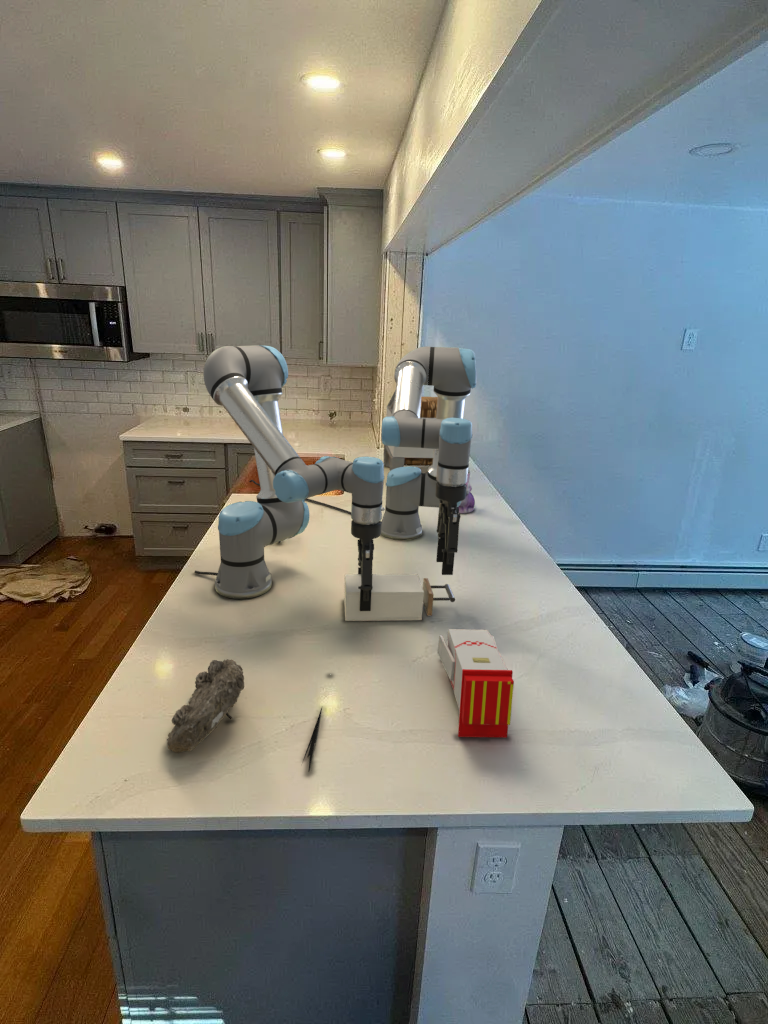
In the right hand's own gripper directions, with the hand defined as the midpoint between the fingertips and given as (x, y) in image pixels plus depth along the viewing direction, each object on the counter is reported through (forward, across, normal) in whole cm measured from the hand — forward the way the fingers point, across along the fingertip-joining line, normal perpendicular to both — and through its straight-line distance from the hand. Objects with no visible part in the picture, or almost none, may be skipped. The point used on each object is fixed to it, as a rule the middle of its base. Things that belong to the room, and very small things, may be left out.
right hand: (444, 567), depth 146 cm
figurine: (+12, +79, -24) cm, 83 cm away
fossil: (+12, -40, +52) cm, 66 cm away
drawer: (+11, 0, +9) cm, 15 cm away
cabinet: (+12, 0, +16) cm, 20 cm away
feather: (+12, -41, +31) cm, 53 cm away
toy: (+12, -34, 0) cm, 36 cm away
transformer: (+12, +132, -14) cm, 133 cm away
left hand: (+9, 0, +20) cm, 22 cm away
